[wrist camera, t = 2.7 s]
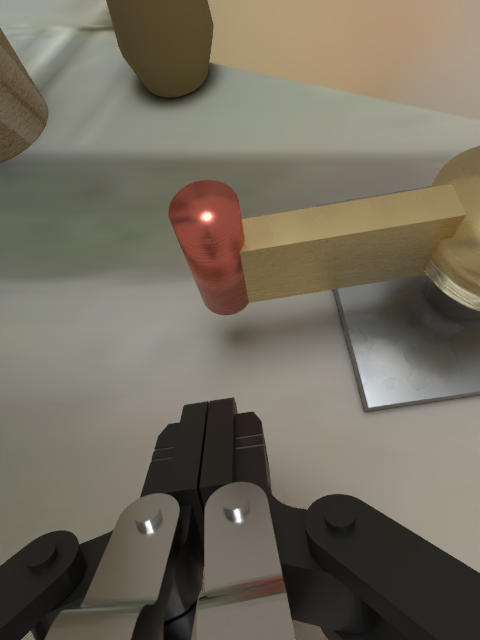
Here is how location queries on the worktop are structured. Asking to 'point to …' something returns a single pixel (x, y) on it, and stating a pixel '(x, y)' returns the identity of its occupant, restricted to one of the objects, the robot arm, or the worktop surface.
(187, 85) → the squeeze bottle
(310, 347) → the worktop surface
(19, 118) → the tube
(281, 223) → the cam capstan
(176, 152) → the worktop surface
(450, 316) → the stand
